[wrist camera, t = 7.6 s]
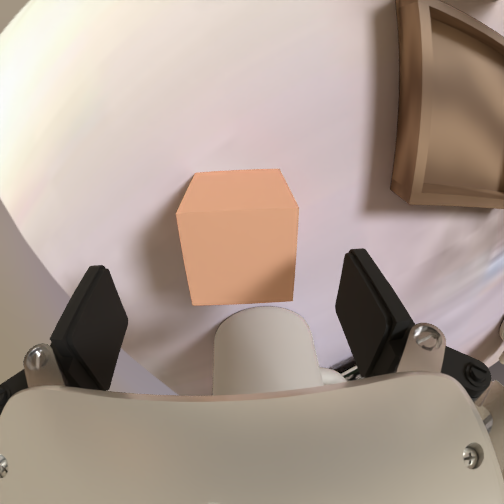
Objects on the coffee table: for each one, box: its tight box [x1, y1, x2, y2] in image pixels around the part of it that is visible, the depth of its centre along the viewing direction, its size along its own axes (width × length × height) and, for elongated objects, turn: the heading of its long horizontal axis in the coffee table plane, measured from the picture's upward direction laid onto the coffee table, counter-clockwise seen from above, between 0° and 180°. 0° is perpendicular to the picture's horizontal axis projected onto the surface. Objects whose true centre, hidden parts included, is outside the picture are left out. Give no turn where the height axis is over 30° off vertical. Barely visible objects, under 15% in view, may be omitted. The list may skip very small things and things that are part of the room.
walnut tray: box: [390, 0, 504, 209], centre depth 13 cm, size 14×14×3 cm
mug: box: [212, 306, 347, 395], centre depth 20 cm, size 12×8×11 cm
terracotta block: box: [176, 169, 299, 306], centre depth 15 cm, size 5×5×6 cm
